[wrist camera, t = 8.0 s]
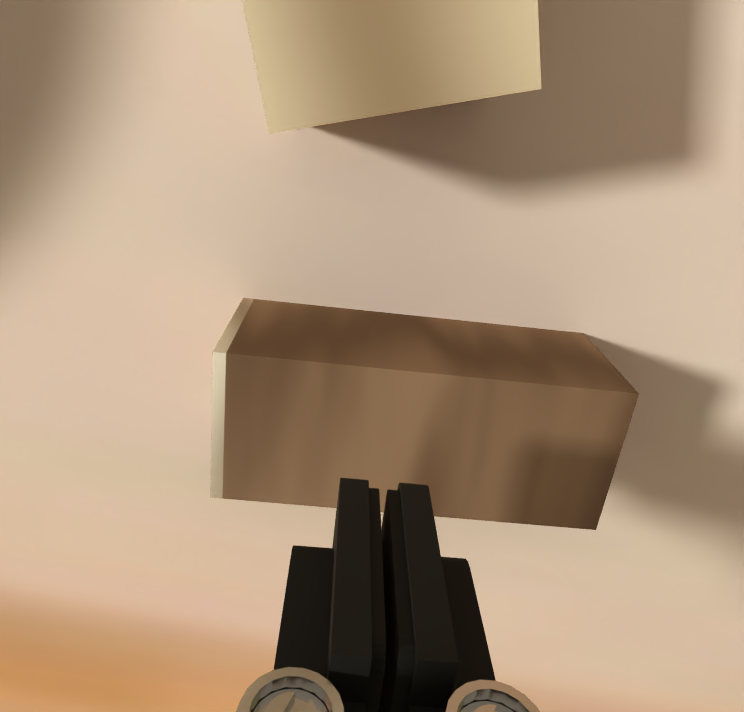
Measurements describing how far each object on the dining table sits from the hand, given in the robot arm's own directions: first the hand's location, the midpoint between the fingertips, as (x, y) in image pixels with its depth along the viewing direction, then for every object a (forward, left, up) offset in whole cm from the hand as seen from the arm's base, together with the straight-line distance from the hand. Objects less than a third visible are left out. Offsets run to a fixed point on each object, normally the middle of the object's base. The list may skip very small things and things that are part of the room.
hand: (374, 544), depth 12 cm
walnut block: (+4, 0, -6) cm, 7 cm away
